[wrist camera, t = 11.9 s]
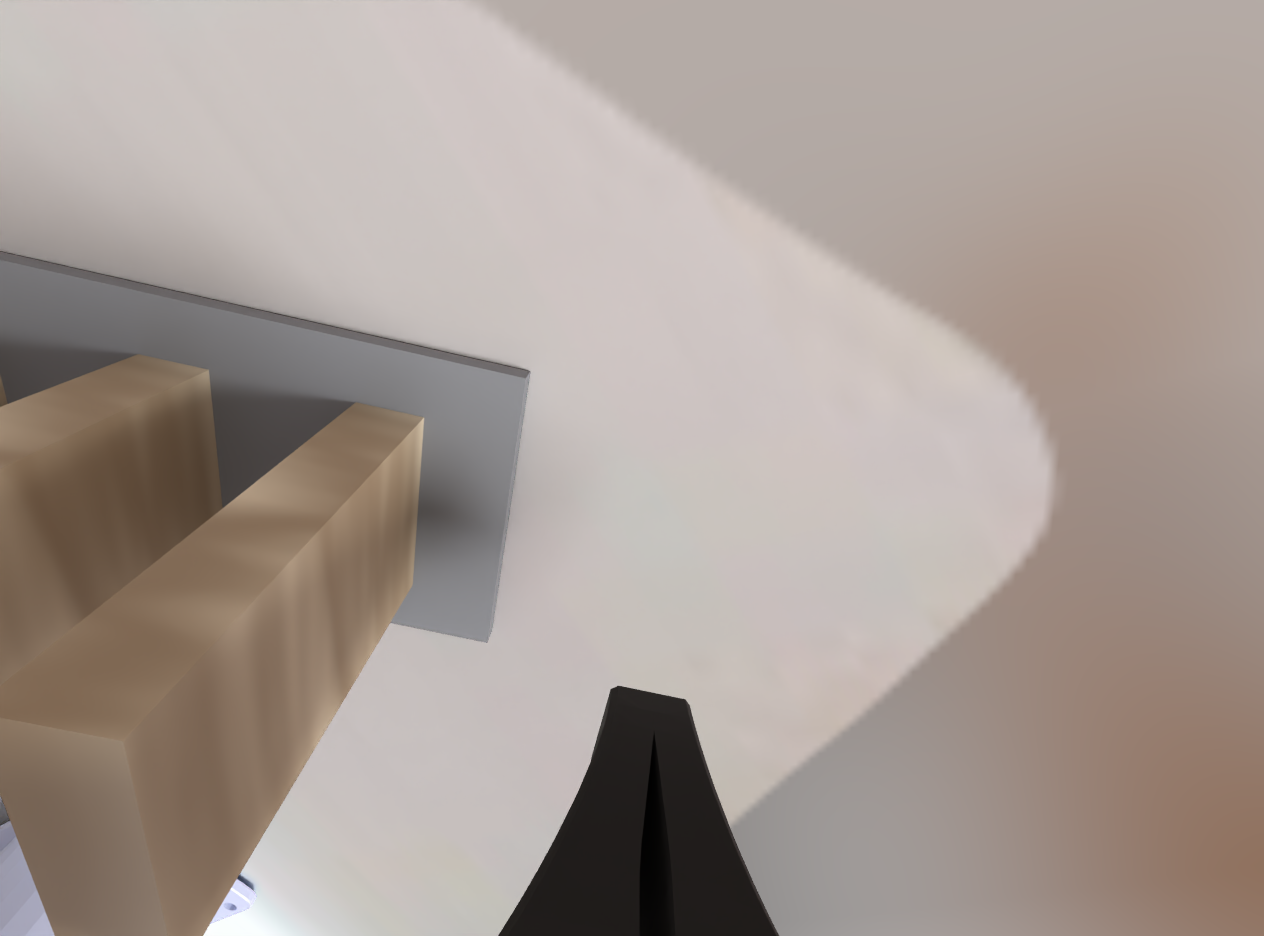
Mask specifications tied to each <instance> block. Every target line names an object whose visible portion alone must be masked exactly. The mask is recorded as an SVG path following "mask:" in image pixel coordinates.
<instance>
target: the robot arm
mask: <svg viewBox="0 0 1264 936" xmlns="http://www.w3.org/2000/svg"><path fill="white" fill-rule="evenodd" d="M256 897H257V896H256V893H255V892H254V891H253V890H252V889H251V888H249V887H248V886H247V885H245V884H244V883H242V882H241V881H239V880H238V879H236V881H235V883H234V884H233V886H232V888H231V889H230V891H229V893H228V894H227V896H226V898H225V899H224V901H223V903H222V904H221V906H220V908H219V909H218V911H217V913H216V914H215V916H214V918H213V919H212V921H211V923H213V922H216V921H219V920H221V919H224V918H226V917H229V916H232V915H234V914H237V913H239V912H242V911H244V910H247V909H249V908H251V907H252V905H253V903H254V902H255V900H256ZM211 923H210V924H211ZM0 936H55V935H54V933H53V930H52V927H51V925H50V922H49V920H48V917H47V915H46V912H45V909H44V907H43V904H42V902H41V899H40V896H39V894H38V891H37V889H36V886H35V884H34V881H33V878H32V876H31V873H30V871H29V868H28V865H27V863H26V860H25V858H24V855H23V853H22V850H21V847H20V845H19V842H18V840H17V837H16V834H15V832H14V829H13V827H12V824H11V822H10V821H8V822H6V823H5V824H3V825H1V826H0ZM498 936H779V935H778V933H777V931H776V929H775V927H774V925H773V923H772V921H771V919H770V917H769V915H768V913H767V911H766V909H765V906H764V904H763V902H762V900H761V898H760V896H759V894H758V892H757V889H756V887H755V885H754V883H753V881H752V878H751V876H750V874H749V872H748V869H747V867H746V865H745V862H744V860H743V858H742V856H741V853H740V851H739V849H738V846H737V844H736V842H735V839H734V837H733V834H732V832H731V829H730V827H729V824H728V821H727V819H726V816H725V813H724V811H723V808H722V806H721V803H720V800H719V798H718V795H717V793H716V790H715V787H714V784H713V781H712V779H711V776H710V773H709V770H708V767H707V764H706V761H705V758H704V755H703V751H702V748H701V745H700V742H699V738H698V735H697V732H696V728H695V724H694V721H693V717H692V713H691V709H690V705H689V704H688V702H687V701H686V700H685V699H680V698H675V697H671V696H666V695H661V694H656V693H651V692H646V691H641V690H637V689H632V688H627V687H622V686H617V687H615V688H612V689H611V690H610V694H609V698H608V701H607V705H606V708H605V712H604V715H603V719H602V722H601V726H600V729H599V733H598V737H597V740H596V744H595V747H594V751H593V754H592V759H591V763H590V765H589V767H588V770H587V772H586V775H585V777H584V779H583V782H582V784H581V786H580V789H579V791H578V793H577V795H576V797H575V800H574V802H573V804H572V806H571V808H570V810H569V812H568V814H567V816H566V818H565V820H564V822H563V824H562V826H561V828H560V830H559V832H558V834H557V836H556V838H555V840H554V842H553V843H552V845H551V847H550V849H549V851H548V853H547V854H546V856H545V858H544V860H543V862H542V864H541V865H540V867H539V869H538V871H537V872H536V874H535V876H534V878H533V879H532V881H531V883H530V885H529V886H528V888H527V890H526V891H525V893H524V895H523V897H522V898H521V900H520V902H519V903H518V905H517V907H516V908H515V910H514V911H513V913H512V915H511V916H510V918H509V919H508V921H507V923H506V924H505V926H504V927H503V929H502V931H501V932H500V934H499V935H498Z"/></svg>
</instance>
